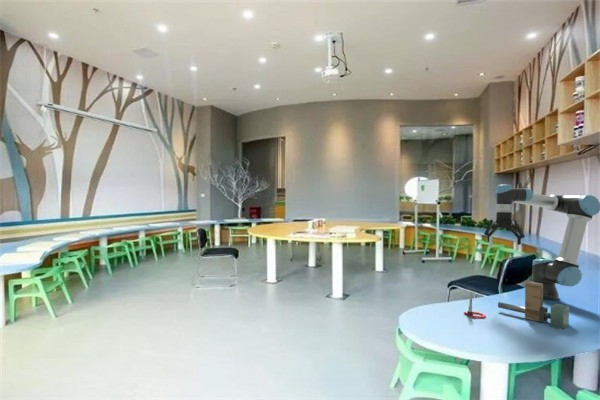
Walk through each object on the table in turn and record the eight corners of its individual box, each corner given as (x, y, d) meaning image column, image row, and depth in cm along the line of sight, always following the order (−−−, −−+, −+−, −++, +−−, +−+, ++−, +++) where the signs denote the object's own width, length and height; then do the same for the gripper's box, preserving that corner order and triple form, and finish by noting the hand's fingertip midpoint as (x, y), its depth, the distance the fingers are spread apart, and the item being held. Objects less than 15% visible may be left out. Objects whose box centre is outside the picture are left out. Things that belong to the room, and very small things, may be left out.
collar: (542, 318, 171) (542, 306, 171) (547, 319, 170) (547, 307, 170) (539, 321, 168) (539, 309, 168) (543, 322, 166) (544, 310, 166)
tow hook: (476, 313, 182) (462, 314, 179) (477, 288, 182) (463, 289, 179) (489, 318, 174) (475, 319, 171) (490, 293, 174) (476, 293, 171)
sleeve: (528, 315, 176) (529, 281, 176) (542, 318, 171) (543, 283, 171) (524, 318, 172) (525, 283, 172) (539, 321, 168) (539, 285, 167)
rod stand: (502, 309, 187) (502, 292, 187) (568, 324, 165) (568, 305, 165) (495, 313, 181) (495, 296, 181) (563, 329, 159) (563, 310, 159)
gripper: (478, 211, 203) (478, 247, 203) (527, 212, 184) (526, 252, 184) (483, 210, 208) (483, 245, 208) (531, 212, 189) (531, 250, 189)
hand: (503, 249), depth 196 cm, fingers open, 13 cm apart
